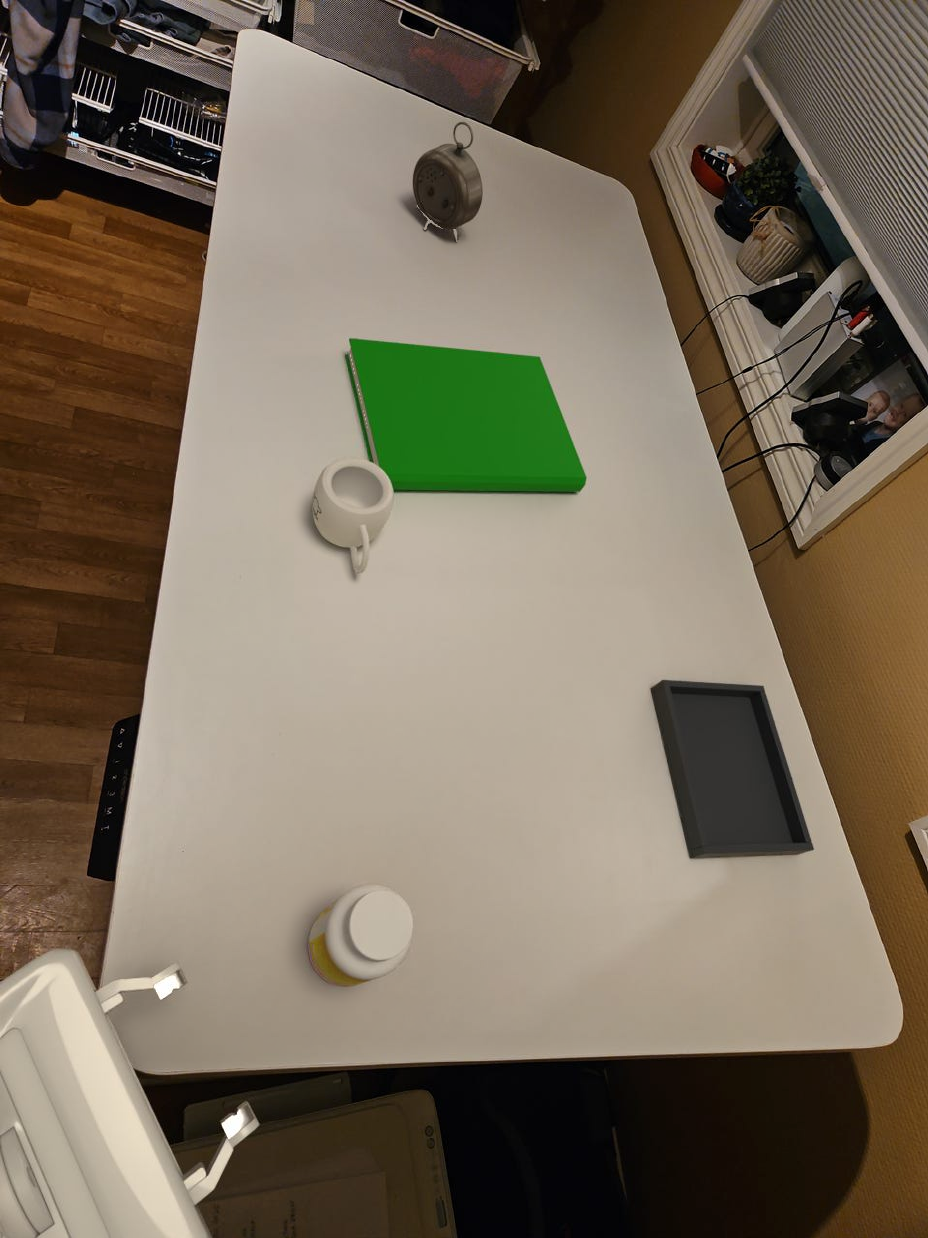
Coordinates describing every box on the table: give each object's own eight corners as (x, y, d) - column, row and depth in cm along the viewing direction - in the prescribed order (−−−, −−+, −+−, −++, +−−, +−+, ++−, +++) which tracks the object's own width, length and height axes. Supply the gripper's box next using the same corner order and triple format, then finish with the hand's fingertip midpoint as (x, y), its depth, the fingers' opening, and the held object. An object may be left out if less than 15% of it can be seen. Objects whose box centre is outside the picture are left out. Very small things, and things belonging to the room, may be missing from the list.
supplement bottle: (369, 998, 60) (410, 991, 50) (294, 972, 59) (320, 959, 49) (394, 916, 64) (437, 893, 53) (324, 890, 63) (354, 862, 52)
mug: (300, 496, 82) (311, 451, 76) (372, 496, 85) (388, 452, 79) (318, 587, 77) (331, 547, 71) (393, 583, 81) (412, 544, 74)
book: (345, 355, 95) (349, 337, 93) (531, 372, 106) (539, 356, 104) (377, 493, 86) (383, 477, 83) (577, 494, 97) (587, 481, 95)
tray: (797, 854, 81) (814, 849, 79) (689, 858, 76) (704, 854, 74) (749, 693, 90) (763, 685, 88) (650, 688, 86) (662, 679, 83)
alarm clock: (467, 243, 117) (505, 142, 103) (447, 253, 114) (483, 150, 100) (418, 202, 118) (449, 96, 104) (397, 210, 115) (426, 102, 101)
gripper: (43, 1458, 33) (307, 1215, 40) (-118, 1041, 38) (144, 890, 45) (60, 1400, 38) (292, 1194, 46) (-83, 1039, 43) (147, 905, 50)
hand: (217, 1040), depth 45 cm, fingers open, 8 cm apart
